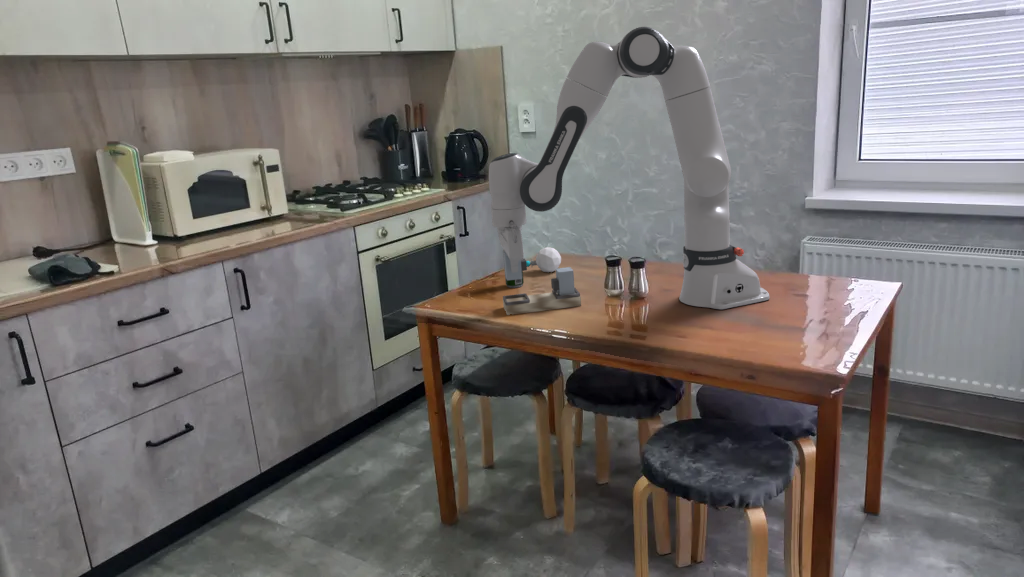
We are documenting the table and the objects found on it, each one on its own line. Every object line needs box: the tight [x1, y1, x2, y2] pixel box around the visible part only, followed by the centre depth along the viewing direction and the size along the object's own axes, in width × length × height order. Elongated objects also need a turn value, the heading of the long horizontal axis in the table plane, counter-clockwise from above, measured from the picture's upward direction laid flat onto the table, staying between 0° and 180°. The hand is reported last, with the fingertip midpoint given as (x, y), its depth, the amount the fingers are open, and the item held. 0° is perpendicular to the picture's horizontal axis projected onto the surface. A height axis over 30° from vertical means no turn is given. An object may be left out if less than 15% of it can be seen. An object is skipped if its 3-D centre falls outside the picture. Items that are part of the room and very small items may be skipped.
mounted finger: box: [550, 266, 575, 296], centre depth 188 cm, size 6×4×7 cm
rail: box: [502, 287, 582, 316], centre depth 189 cm, size 20×7×3 cm, turn 98°
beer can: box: [502, 248, 524, 289], centre depth 209 cm, size 5×5×12 cm
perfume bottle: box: [526, 246, 562, 273], centre depth 222 cm, size 8×8×12 cm
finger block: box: [502, 250, 528, 281], centre depth 185 cm, size 6×4×7 cm
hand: (513, 269), depth 185 cm, fingers closed on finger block, 4 cm apart
